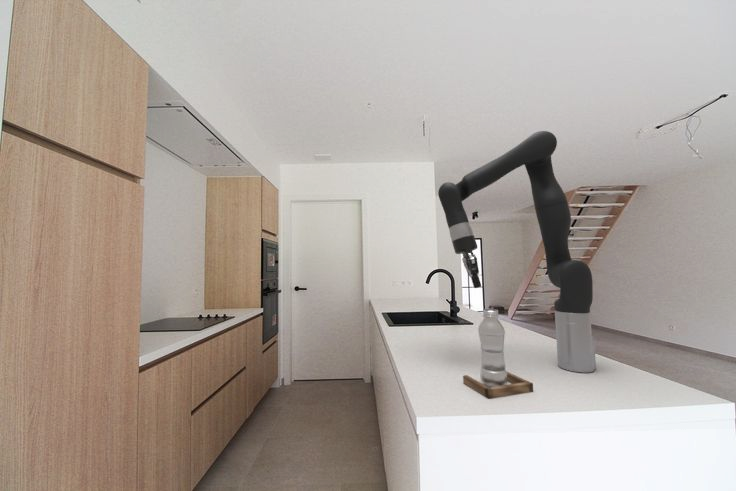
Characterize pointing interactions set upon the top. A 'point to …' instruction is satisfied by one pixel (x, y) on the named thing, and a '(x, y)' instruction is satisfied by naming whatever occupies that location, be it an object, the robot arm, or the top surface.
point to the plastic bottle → (492, 350)
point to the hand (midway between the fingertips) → (477, 287)
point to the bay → (499, 391)
